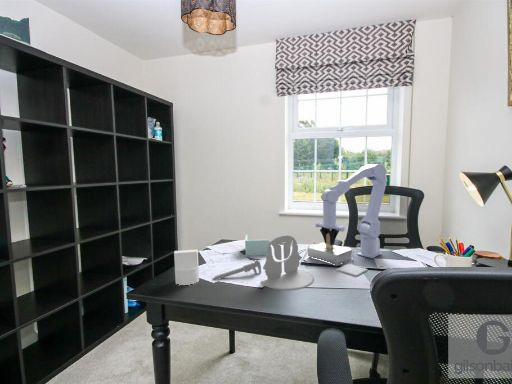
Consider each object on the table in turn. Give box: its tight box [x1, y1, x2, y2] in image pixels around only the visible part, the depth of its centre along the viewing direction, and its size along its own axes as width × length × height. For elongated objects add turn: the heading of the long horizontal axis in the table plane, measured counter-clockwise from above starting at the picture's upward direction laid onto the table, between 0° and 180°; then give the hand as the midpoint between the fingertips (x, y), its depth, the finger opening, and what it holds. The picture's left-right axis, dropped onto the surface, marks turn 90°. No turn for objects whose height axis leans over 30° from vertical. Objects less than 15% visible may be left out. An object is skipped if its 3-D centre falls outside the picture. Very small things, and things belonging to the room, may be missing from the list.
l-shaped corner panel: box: [244, 234, 270, 256], centre depth 144 cm, size 12×12×8 cm
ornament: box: [260, 234, 315, 291], centre depth 106 cm, size 22×13×17 cm, turn 123°
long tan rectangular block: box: [326, 233, 333, 250], centre depth 130 cm, size 2×2×9 cm
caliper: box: [211, 258, 262, 280], centre depth 112 cm, size 20×1×6 cm, turn 107°
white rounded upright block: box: [173, 249, 200, 286], centre depth 109 cm, size 9×9×12 cm
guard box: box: [307, 242, 353, 267], centre depth 131 cm, size 12×16×5 cm
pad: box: [336, 263, 368, 277], centre depth 116 cm, size 9×9×1 cm
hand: (329, 244), depth 130 cm, fingers closed on long tan rectangular block, 2 cm apart
